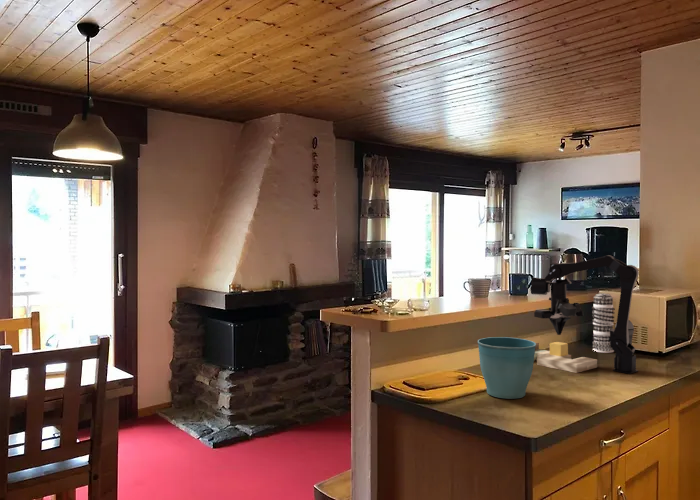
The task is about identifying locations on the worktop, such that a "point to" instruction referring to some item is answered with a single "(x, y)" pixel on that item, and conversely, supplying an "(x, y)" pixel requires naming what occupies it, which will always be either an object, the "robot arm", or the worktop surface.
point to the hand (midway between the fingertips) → (559, 334)
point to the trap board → (563, 361)
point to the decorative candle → (602, 322)
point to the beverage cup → (630, 331)
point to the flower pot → (506, 365)
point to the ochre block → (558, 349)
